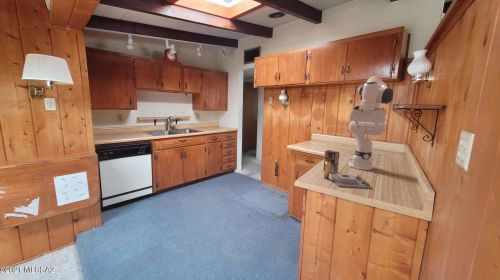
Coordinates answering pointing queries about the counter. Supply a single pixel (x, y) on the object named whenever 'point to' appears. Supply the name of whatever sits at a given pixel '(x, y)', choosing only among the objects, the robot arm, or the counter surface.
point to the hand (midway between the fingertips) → (365, 129)
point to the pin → (327, 170)
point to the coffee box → (332, 160)
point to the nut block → (350, 181)
